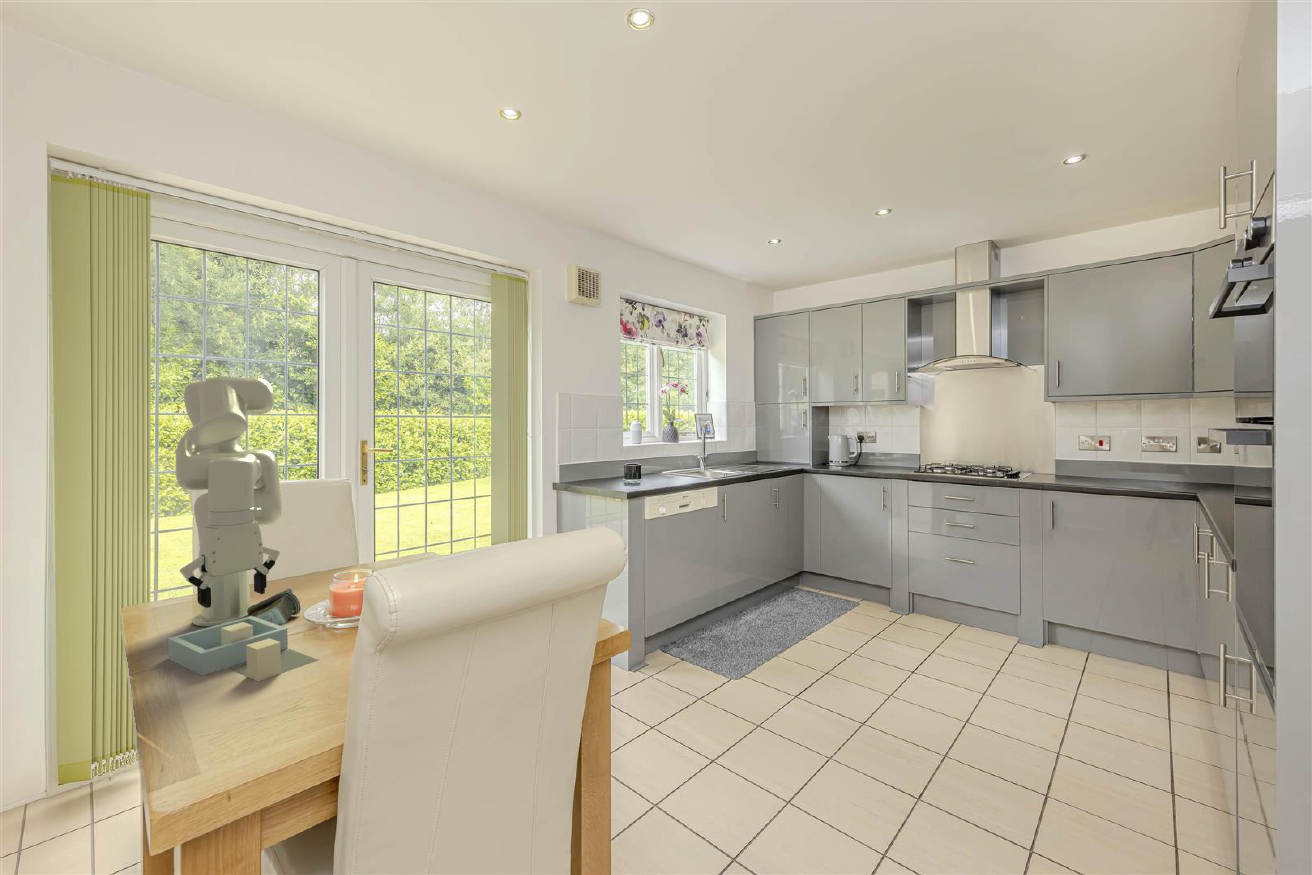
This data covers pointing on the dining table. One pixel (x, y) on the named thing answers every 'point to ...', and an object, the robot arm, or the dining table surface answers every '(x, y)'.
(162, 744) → the dining table surface
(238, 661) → the blue bin
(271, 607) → the dark piece
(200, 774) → the dining table surface
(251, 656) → the stone
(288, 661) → the dark mat
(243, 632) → the stone
